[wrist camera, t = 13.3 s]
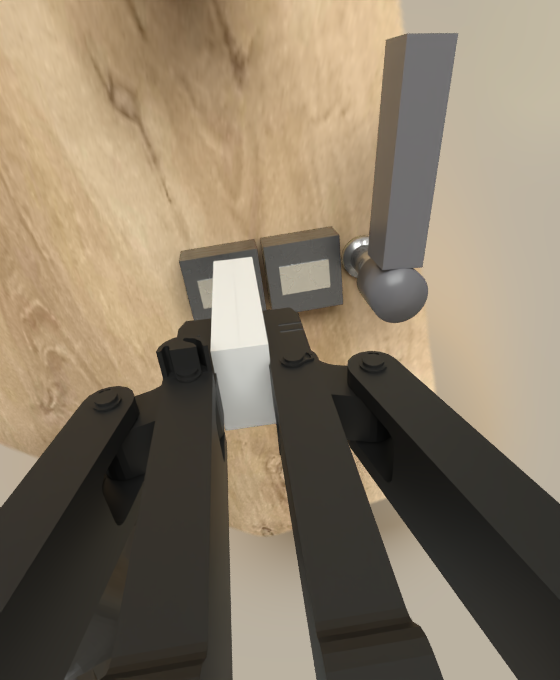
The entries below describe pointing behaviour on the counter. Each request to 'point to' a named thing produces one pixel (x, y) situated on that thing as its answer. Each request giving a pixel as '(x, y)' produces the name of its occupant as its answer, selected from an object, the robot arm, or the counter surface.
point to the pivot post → (355, 255)
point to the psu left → (200, 273)
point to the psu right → (303, 269)
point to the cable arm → (406, 171)
